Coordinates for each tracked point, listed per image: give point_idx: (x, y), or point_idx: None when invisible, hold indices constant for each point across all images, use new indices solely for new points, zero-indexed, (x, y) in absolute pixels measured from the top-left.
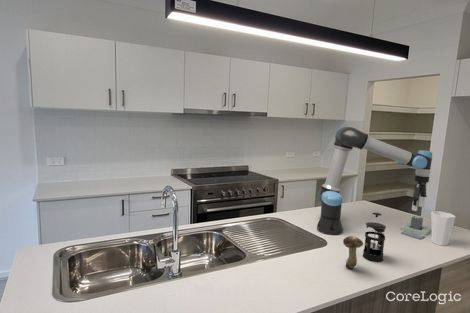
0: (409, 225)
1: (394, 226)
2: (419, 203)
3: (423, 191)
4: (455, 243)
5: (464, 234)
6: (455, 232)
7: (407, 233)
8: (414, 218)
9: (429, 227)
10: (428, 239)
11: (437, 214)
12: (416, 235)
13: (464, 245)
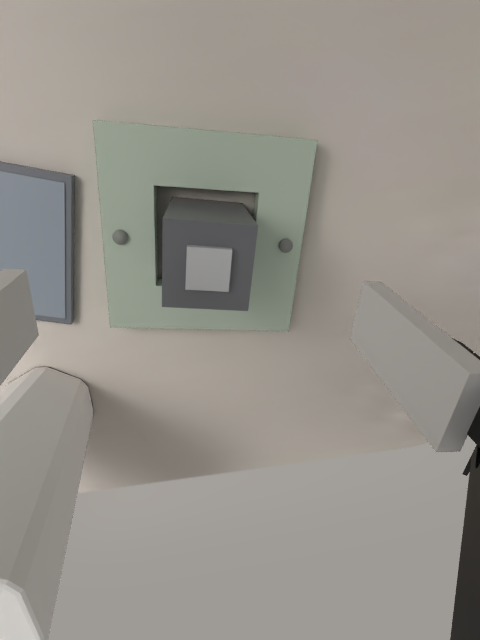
0: (213, 181)
1: (136, 45)
2: (383, 310)
3: (458, 623)
4: (136, 451)
5: (346, 452)
6: (351, 420)
7: (5, 212)
8: (163, 249)
9: (288, 315)
10: (58, 345)
11: (6, 547)
12: (29, 278)
13: (145, 480)
